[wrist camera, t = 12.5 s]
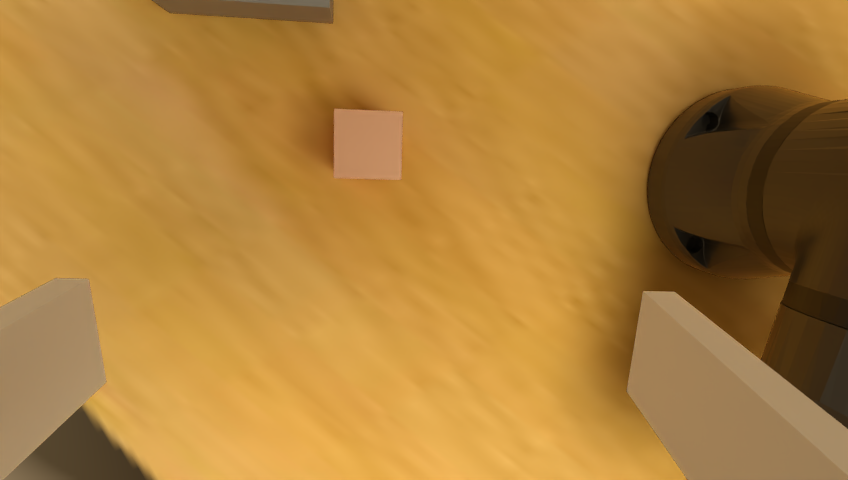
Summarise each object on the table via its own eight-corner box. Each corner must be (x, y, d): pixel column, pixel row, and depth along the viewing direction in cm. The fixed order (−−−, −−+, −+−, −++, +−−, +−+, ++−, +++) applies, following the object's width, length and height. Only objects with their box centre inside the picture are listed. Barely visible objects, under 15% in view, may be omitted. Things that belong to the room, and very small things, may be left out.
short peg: (394, 119, 38) (402, 111, 30) (393, 174, 38) (401, 179, 31) (339, 117, 37) (333, 108, 29) (339, 172, 38) (333, 178, 30)
